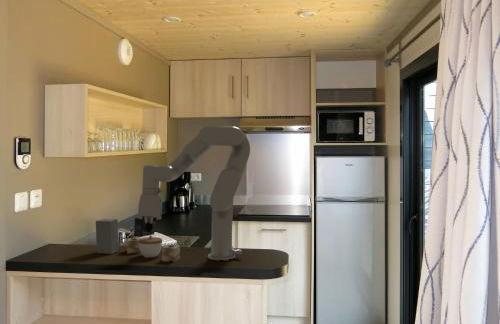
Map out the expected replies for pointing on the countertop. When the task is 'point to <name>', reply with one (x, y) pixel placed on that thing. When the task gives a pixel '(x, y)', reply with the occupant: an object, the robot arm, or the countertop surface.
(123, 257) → the countertop surface
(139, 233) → the box
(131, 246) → the marked block far
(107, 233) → the skincare box
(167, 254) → the marked block near
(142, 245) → the lidded jar
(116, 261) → the countertop surface
